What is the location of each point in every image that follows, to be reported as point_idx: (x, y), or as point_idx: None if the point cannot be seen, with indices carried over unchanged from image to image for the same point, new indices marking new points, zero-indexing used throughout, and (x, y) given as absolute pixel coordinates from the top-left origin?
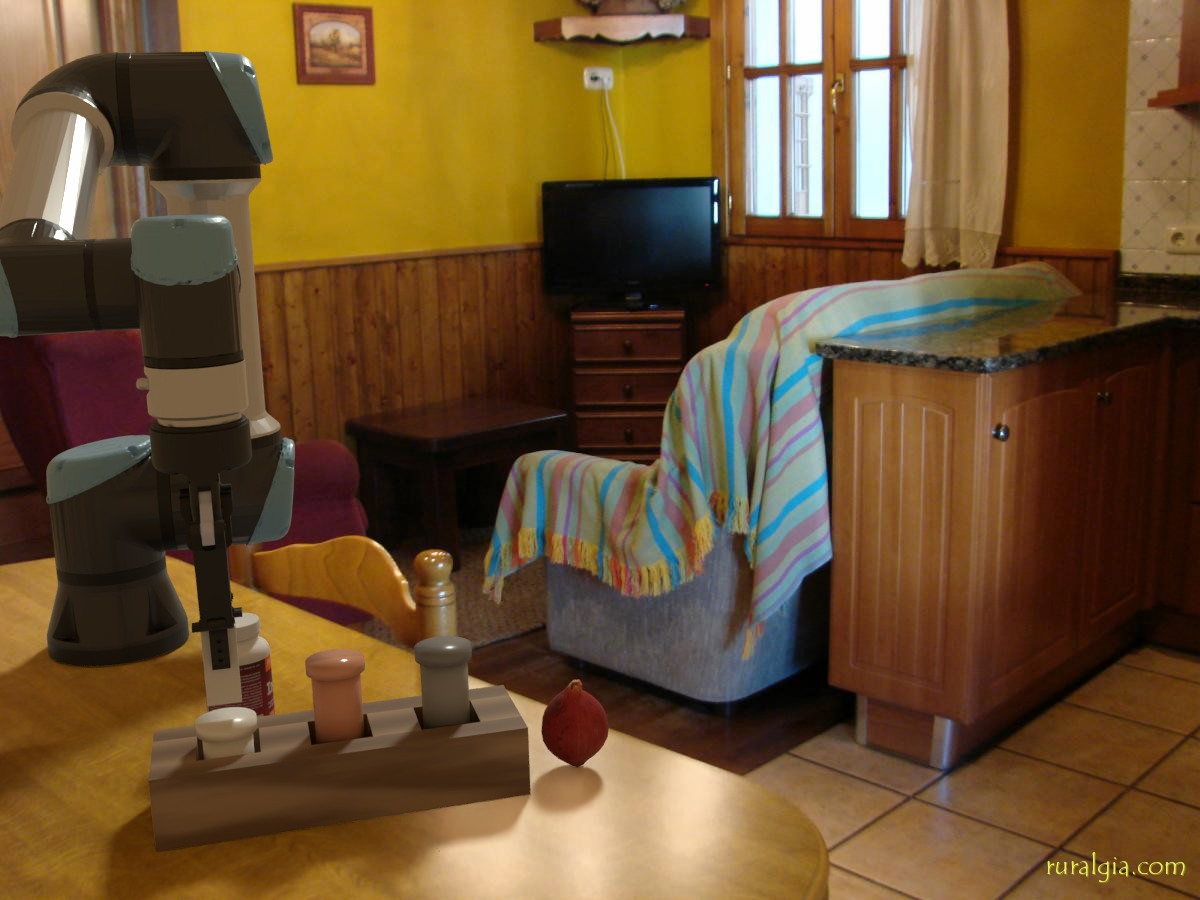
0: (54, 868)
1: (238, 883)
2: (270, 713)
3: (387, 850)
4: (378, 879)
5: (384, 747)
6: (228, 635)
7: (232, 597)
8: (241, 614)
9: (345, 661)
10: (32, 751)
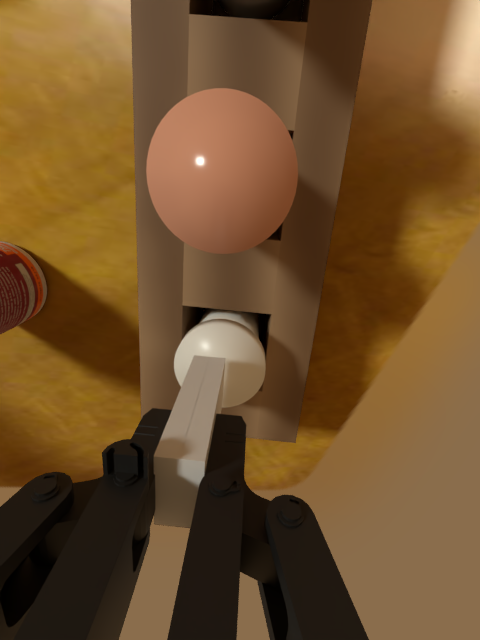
0: (278, 463)
1: (393, 329)
2: (6, 252)
3: (414, 161)
4: (475, 187)
5: (350, 119)
6: (208, 459)
7: (56, 487)
8: (147, 451)
9: (253, 152)
10: (23, 471)
